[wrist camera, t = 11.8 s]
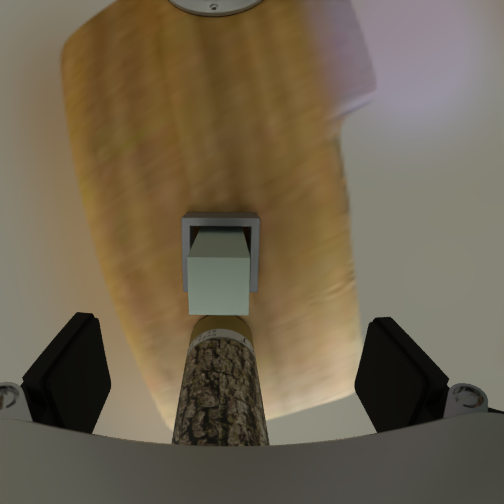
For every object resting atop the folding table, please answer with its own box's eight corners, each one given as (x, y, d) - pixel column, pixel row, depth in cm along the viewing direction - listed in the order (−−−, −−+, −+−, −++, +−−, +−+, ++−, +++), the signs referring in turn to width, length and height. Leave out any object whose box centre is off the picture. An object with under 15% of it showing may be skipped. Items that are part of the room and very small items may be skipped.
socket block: (187, 211, 32) (181, 217, 28) (256, 212, 32) (259, 218, 28) (188, 277, 33) (183, 291, 29) (253, 278, 34) (257, 292, 30)
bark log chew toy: (192, 362, 36) (169, 565, 12) (189, 310, 34) (145, 525, 10) (251, 362, 36) (280, 565, 12) (252, 310, 35) (294, 526, 10)
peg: (201, 225, 32) (187, 257, 20) (241, 225, 32) (250, 257, 21) (201, 264, 33) (189, 314, 21) (241, 264, 33) (248, 315, 22)
